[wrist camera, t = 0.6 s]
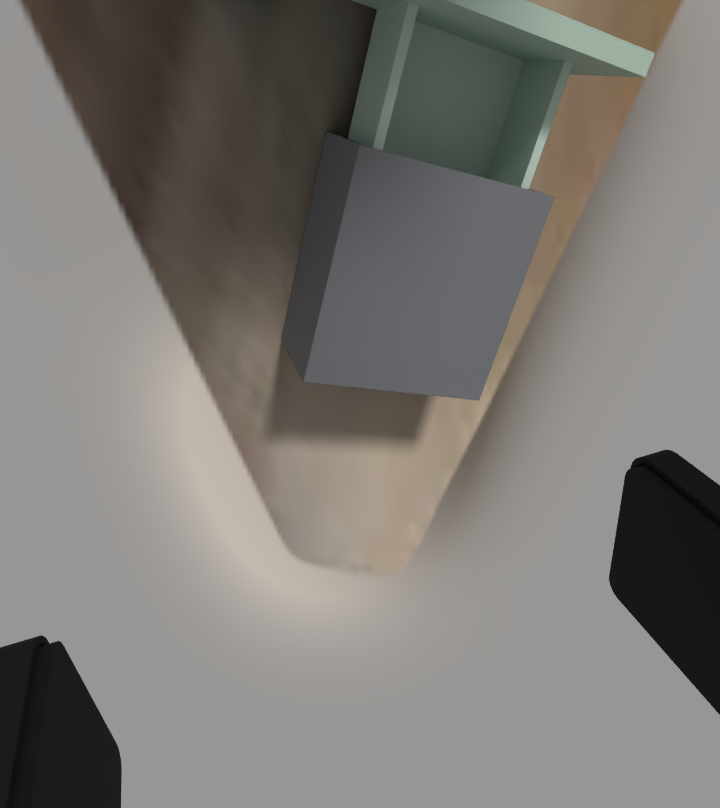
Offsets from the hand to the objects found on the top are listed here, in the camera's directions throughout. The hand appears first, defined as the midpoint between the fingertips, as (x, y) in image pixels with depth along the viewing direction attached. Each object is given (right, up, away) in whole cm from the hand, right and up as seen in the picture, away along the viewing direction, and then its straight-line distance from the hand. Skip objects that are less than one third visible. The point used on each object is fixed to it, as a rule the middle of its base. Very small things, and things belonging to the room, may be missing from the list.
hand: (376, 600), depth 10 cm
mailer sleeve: (+2, +12, +27) cm, 30 cm away
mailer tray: (+3, +15, +26) cm, 30 cm away
